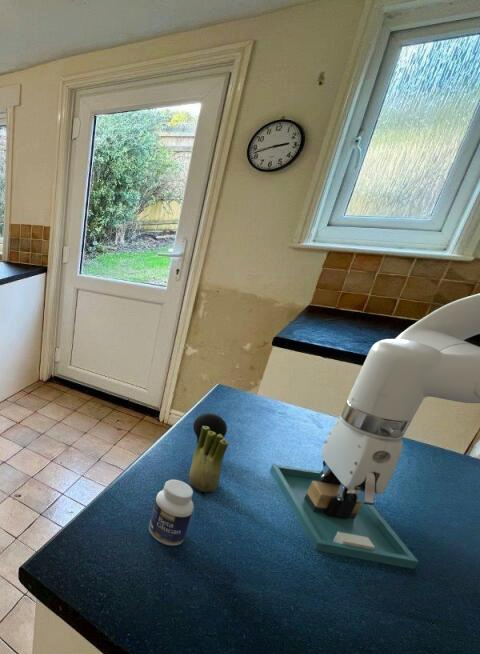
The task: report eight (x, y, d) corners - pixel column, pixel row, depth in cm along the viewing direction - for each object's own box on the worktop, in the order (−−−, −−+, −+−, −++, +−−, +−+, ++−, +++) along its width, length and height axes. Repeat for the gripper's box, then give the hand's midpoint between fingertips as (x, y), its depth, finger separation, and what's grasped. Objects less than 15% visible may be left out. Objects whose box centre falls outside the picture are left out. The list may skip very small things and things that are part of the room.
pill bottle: (149, 542, 67) (161, 495, 62) (147, 517, 71) (158, 473, 67) (186, 550, 65) (201, 503, 61) (181, 525, 70) (195, 480, 66)
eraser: (343, 504, 73) (352, 486, 71) (354, 519, 70) (364, 501, 68) (304, 497, 75) (312, 480, 73) (313, 512, 71) (321, 494, 70)
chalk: (362, 546, 65) (368, 537, 64) (369, 556, 63) (375, 547, 62) (332, 540, 66) (337, 531, 65) (338, 550, 64) (343, 541, 63)
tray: (344, 484, 79) (349, 475, 78) (412, 571, 62) (419, 561, 61) (268, 472, 82) (272, 464, 81) (313, 552, 65) (318, 542, 64)
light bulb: (181, 446, 89) (192, 407, 85) (210, 448, 89) (222, 408, 84) (192, 464, 84) (204, 422, 80) (222, 465, 84) (236, 424, 79)
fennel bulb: (184, 473, 81) (198, 422, 76) (211, 478, 80) (228, 426, 75) (189, 494, 76) (205, 440, 71) (219, 499, 75) (237, 445, 70)
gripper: (442, 454, 56) (384, 550, 64) (372, 395, 70) (331, 479, 78) (376, 445, 58) (327, 539, 66) (320, 390, 72) (285, 472, 80)
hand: (329, 506), depth 72 cm, fingers closed on eraser, 3 cm apart
